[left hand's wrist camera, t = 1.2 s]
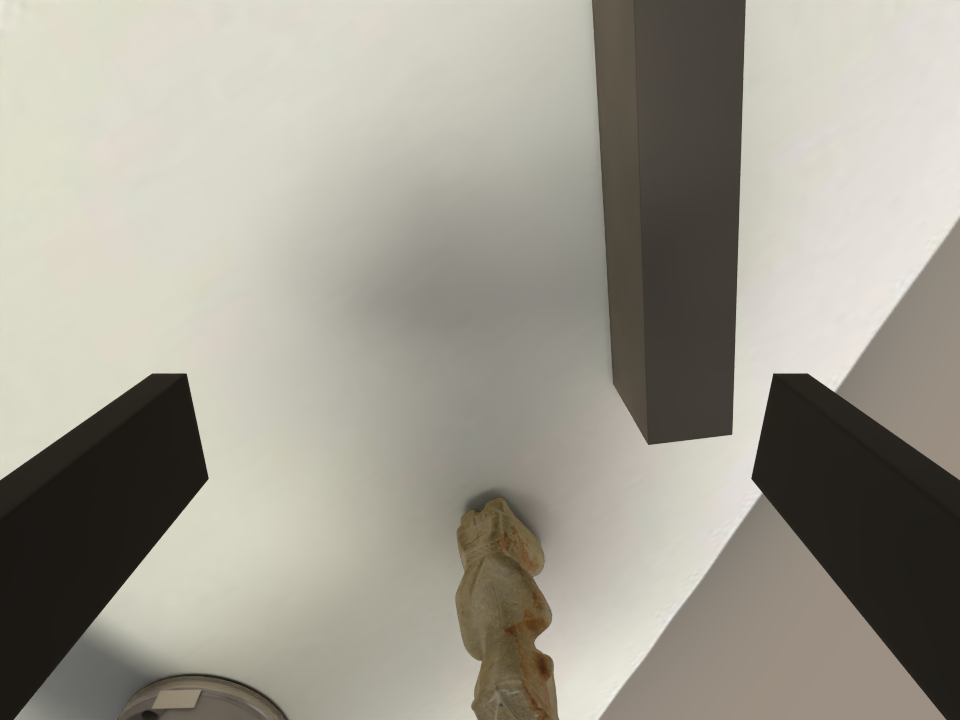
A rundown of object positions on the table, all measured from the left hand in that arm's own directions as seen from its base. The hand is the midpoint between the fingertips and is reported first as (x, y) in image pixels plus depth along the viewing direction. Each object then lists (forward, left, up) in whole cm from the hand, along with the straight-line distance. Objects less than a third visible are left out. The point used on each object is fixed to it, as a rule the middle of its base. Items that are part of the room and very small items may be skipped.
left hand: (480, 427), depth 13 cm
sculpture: (-19, -9, -23) cm, 31 cm away
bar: (+7, -8, -23) cm, 26 cm away
